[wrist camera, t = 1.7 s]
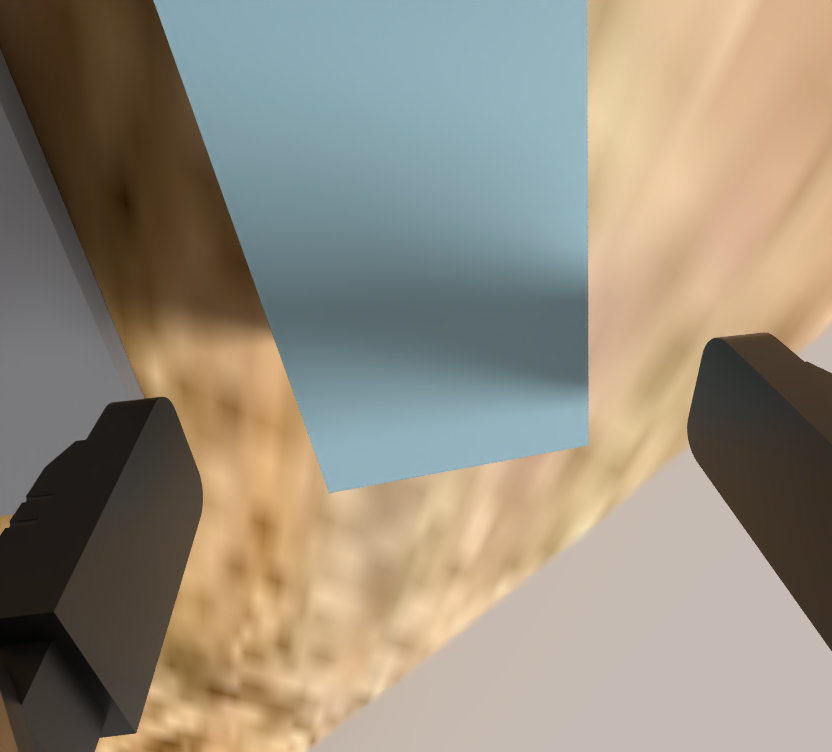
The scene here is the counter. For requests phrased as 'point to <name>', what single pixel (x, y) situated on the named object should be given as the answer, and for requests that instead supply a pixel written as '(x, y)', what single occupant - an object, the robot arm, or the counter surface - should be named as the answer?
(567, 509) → the counter surface
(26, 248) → the mat
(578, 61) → the block
